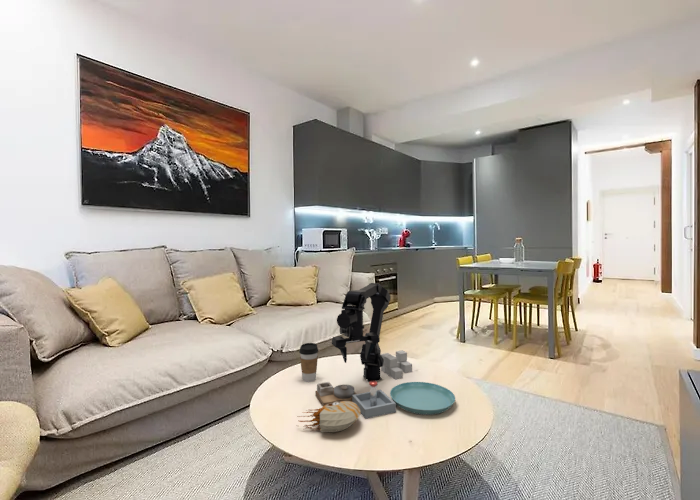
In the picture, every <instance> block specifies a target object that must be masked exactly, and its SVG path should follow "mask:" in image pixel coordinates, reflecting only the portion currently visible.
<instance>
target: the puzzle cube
mask: <svg viewBox="0 0 700 500" xmlns="http://www.w3.org/2000/svg"><path fill="white" fill-rule="evenodd" d="M380 354H381V356H382V358H383V359H384V363H383V366H382V367H380V372H382V373H384V374H386V375H387V376H388V377H390V378H392V379H393V380H395V381H396V380H397V381H398V380H402V379H403V373H404V374H409V373H412V372H413V364H412V363H411V362H409V361H408V353H407V351H404V350H395V356H394V355H392V354H390V353H389V352H385V353H380Z"/></svg>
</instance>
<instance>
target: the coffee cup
mask: <svg viewBox="0 0 700 500" xmlns="http://www.w3.org/2000/svg"><path fill="white" fill-rule="evenodd" d="M299 348H300V349H299V351H298V352H299V355H300V357H299V361H300V369H301V376H302V378H301V379H302V381H304V382H306V383H311V382H315V381H316V379H317V370H318V369H317V368H318V359H319V355H318V353H319V348H318V344H316V343H314V342H305V343H303V344H302V345H300V347H299Z"/></svg>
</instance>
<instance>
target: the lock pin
mask: <svg viewBox="0 0 700 500" xmlns="http://www.w3.org/2000/svg"><path fill="white" fill-rule="evenodd" d="M368 385H369V392H370V406H371V407H373V406H377V390H378V388H377V387H378V380H377V381H370V382H368Z"/></svg>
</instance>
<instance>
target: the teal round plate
mask: <svg viewBox="0 0 700 500" xmlns="http://www.w3.org/2000/svg"><path fill="white" fill-rule="evenodd" d="M389 395H390V396H389V397H390V398H391V399H392V400H393V401H394V402H395V403H396V406H398V407H399V408H400V409H402V410H404V411H406V412H409V413H411V414H416V415H422V416H425V415H426V416H432V415H439V414H441V413H444V412H446V411H447V410H448V411H449V409H450V408H451V407H452V406H453V405H454V404H455V402H456V396H455V394H454V392H452V391H451V390H450V389H448V388H446V387H445V386H442V385H440V384H436V383H434V382H433V383H431V382H426V381H425V382H424V381H409V382H403V383H399V384H397V385H394V386H393V387H392V388H391V390H390V392H389Z"/></svg>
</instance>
